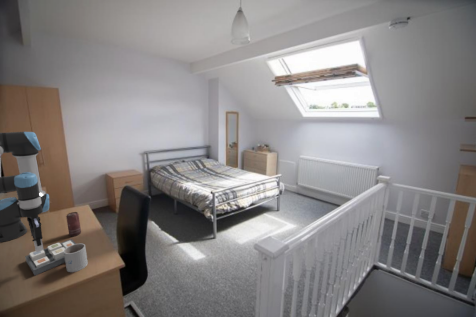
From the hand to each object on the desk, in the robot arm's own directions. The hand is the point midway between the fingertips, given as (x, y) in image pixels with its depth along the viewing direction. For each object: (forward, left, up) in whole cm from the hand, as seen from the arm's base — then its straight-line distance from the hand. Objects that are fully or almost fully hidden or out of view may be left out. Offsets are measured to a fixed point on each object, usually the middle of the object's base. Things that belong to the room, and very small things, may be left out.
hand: (39, 250), depth 108 cm
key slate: (-7, 0, -7) cm, 10 cm away
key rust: (+1, 0, -8) cm, 8 cm away
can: (-22, +21, -9) cm, 32 cm away
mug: (+12, +11, -9) cm, 18 cm away
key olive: (-7, +7, -7) cm, 12 cm away
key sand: (+1, +7, -7) cm, 10 cm away
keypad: (-3, +6, -9) cm, 11 cm away
